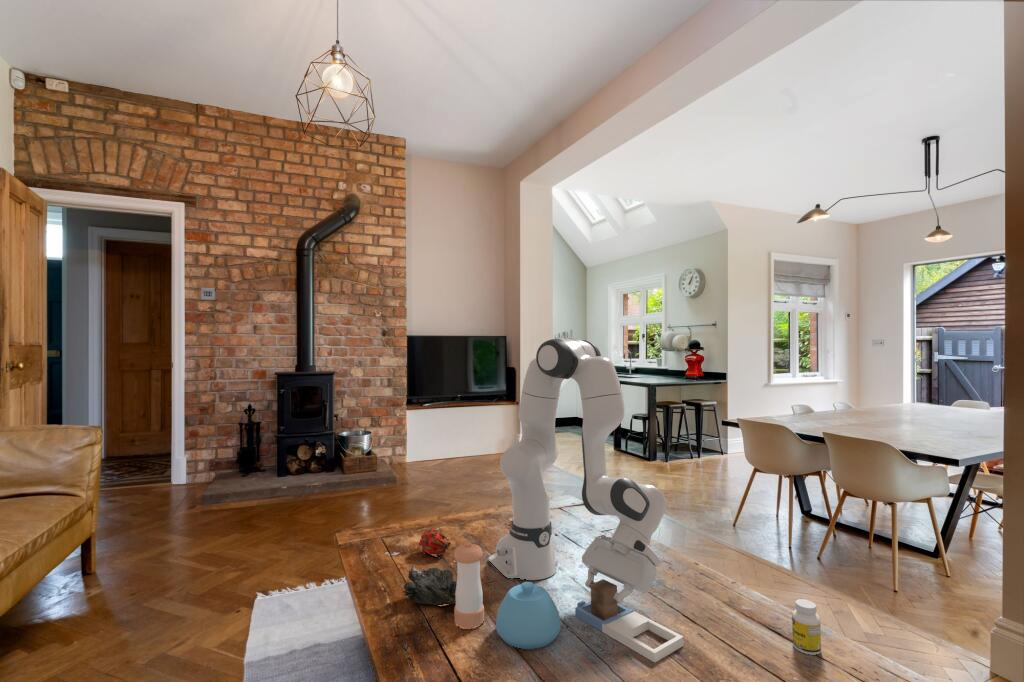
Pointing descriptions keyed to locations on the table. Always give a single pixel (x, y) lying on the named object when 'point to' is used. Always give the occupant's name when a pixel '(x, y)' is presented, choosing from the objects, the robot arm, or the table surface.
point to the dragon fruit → (434, 542)
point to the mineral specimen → (431, 586)
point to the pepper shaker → (468, 586)
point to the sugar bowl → (528, 617)
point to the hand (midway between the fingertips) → (602, 594)
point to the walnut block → (603, 599)
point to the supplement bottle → (806, 627)
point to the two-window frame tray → (632, 630)
